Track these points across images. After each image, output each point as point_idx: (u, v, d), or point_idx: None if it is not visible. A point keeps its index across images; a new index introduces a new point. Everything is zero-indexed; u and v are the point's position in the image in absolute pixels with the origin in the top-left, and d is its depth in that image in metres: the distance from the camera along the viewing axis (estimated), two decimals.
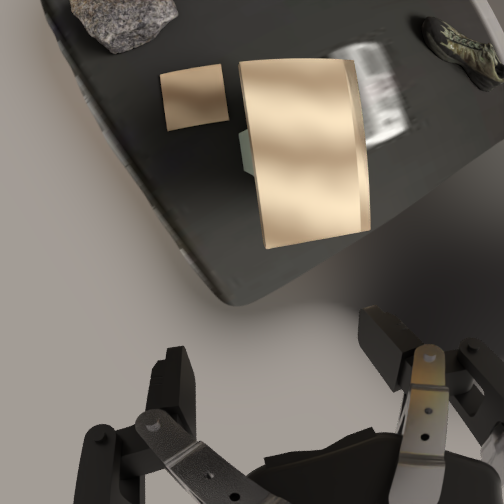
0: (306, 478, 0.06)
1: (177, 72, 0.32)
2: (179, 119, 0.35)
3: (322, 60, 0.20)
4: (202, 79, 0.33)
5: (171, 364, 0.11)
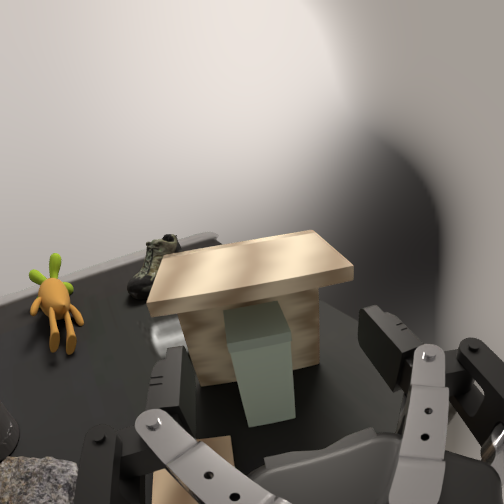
0: (306, 478, 0.06)
1: (154, 485, 0.20)
2: None
3: (161, 266, 0.26)
4: None
5: (171, 364, 0.11)
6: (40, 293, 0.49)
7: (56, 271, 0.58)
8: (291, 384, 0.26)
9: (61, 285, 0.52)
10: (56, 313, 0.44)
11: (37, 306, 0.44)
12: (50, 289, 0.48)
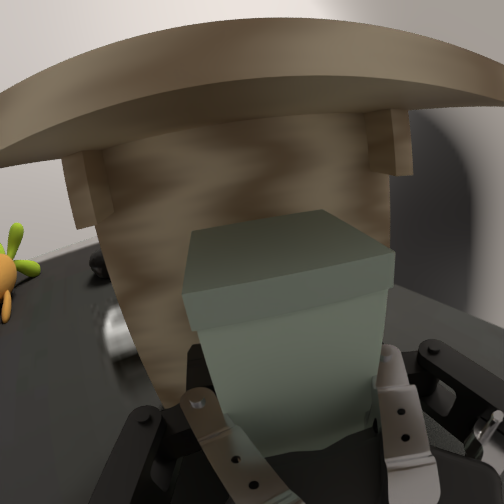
0: (306, 478, 0.06)
1: None
2: None
3: None
4: None
5: None
6: None
7: (13, 246, 0.41)
8: None
9: (0, 264, 0.34)
10: None
11: None
12: None
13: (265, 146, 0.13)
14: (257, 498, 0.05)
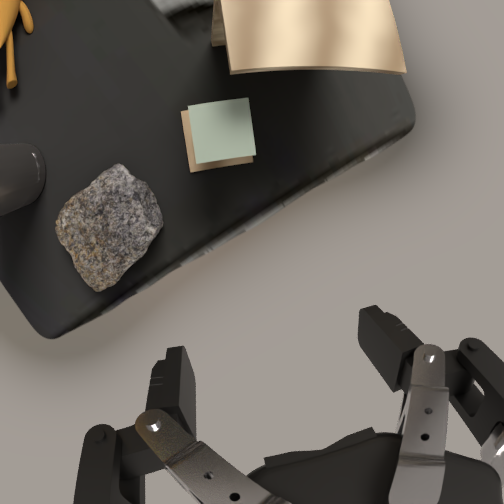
0: (306, 478, 0.06)
1: (189, 154, 0.35)
2: None
3: None
4: None
5: (171, 364, 0.11)
6: None
7: None
8: None
9: None
10: None
11: None
12: None
13: None
14: None
